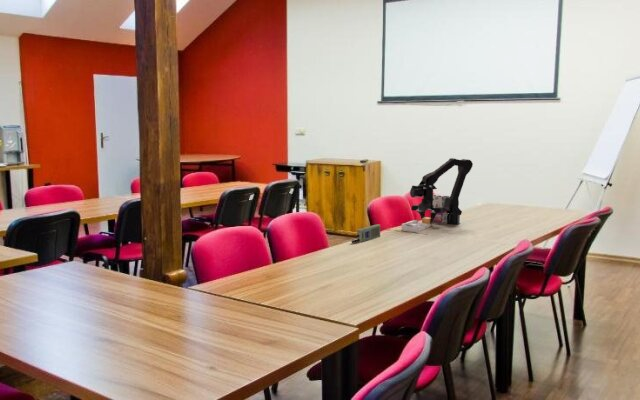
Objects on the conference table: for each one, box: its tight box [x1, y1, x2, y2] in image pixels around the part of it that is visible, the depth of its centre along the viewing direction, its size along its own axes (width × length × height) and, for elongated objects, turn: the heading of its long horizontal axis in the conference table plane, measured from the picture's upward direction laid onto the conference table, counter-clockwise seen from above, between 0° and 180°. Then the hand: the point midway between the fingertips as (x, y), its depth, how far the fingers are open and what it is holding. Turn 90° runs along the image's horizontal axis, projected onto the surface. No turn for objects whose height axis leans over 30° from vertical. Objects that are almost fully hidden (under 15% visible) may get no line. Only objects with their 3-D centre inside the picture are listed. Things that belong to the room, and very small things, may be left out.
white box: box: [401, 219, 431, 233], centre depth 334 cm, size 10×18×4 cm, turn 144°
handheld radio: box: [351, 223, 381, 244], centre depth 303 cm, size 7×3×25 cm
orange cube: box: [421, 216, 433, 225], centre depth 344 cm, size 4×4×4 cm
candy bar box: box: [430, 193, 450, 224], centre depth 357 cm, size 11×5×16 cm, turn 26°
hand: (427, 223), depth 344 cm, fingers closed on orange cube, 4 cm apart
